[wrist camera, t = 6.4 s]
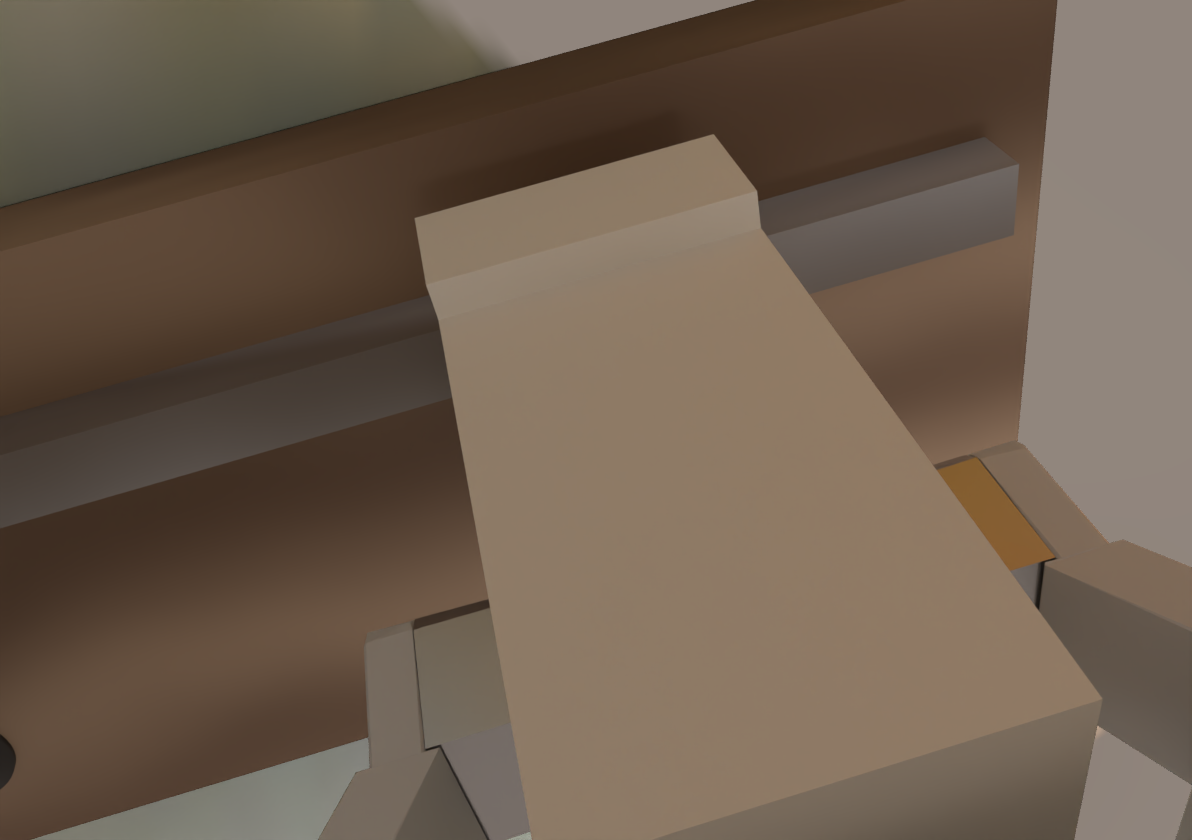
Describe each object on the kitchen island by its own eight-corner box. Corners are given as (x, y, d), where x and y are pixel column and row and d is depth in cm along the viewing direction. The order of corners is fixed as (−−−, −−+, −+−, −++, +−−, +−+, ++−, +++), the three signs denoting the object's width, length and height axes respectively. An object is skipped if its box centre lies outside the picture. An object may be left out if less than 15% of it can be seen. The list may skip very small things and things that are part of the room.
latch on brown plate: (973, 496, 23) (1033, 577, 21) (-95, 817, 22) (-134, 933, 20) (1005, -69, 16) (1103, -23, 14) (-620, 378, 15) (-761, 497, 13)
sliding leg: (757, 555, 20) (1018, 1110, 13) (554, 616, 20) (699, 1216, 12) (695, 111, 14) (1112, 653, 7) (410, 191, 14) (520, 837, 7)
